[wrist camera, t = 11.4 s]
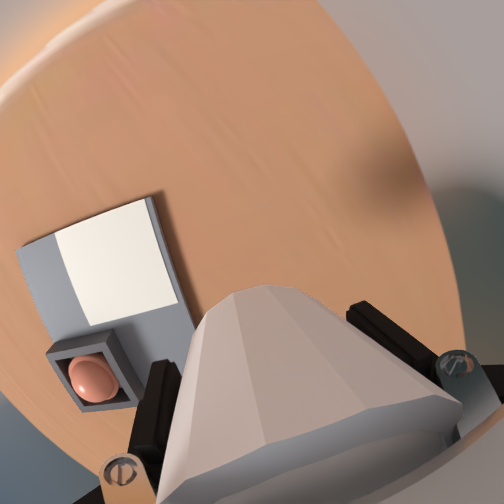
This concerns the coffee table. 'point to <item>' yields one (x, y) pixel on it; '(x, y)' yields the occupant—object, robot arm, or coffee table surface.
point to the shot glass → (295, 408)
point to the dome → (93, 377)
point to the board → (110, 298)
